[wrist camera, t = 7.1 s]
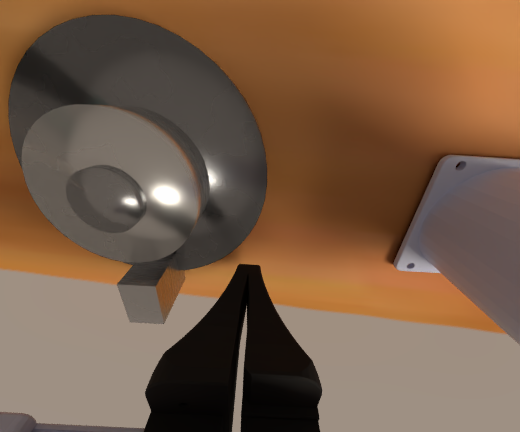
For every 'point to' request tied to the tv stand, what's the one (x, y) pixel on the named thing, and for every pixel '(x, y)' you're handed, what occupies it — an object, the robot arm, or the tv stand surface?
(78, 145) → the cover
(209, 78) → the turntable
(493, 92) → the tv stand surface
